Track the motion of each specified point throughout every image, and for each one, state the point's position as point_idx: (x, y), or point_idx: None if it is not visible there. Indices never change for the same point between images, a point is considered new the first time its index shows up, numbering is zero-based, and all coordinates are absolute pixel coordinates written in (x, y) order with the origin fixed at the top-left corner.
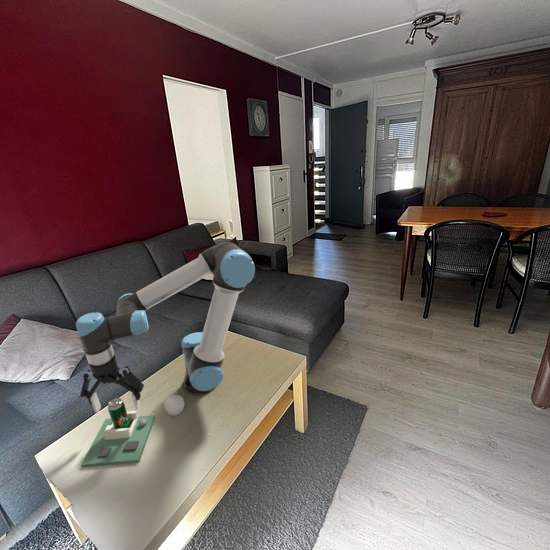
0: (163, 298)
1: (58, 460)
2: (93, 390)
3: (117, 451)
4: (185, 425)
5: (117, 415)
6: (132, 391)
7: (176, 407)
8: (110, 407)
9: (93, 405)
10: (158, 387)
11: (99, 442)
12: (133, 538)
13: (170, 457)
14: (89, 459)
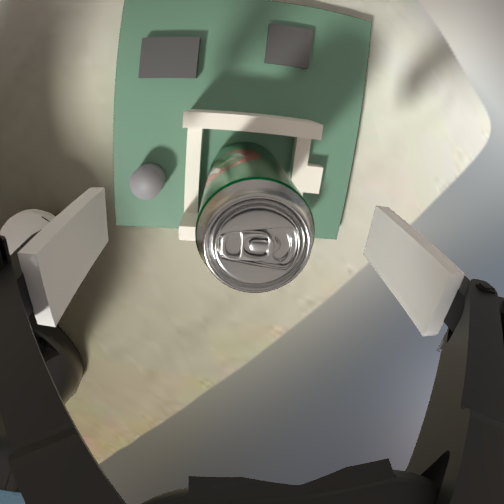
0: None
1: (451, 90)
2: (478, 342)
3: (230, 42)
4: (4, 166)
5: (237, 166)
6: (2, 280)
7: (3, 228)
8: (283, 198)
9: (418, 236)
10: (166, 359)
11: (331, 111)
12: None
13: (26, 30)
14: (345, 33)
